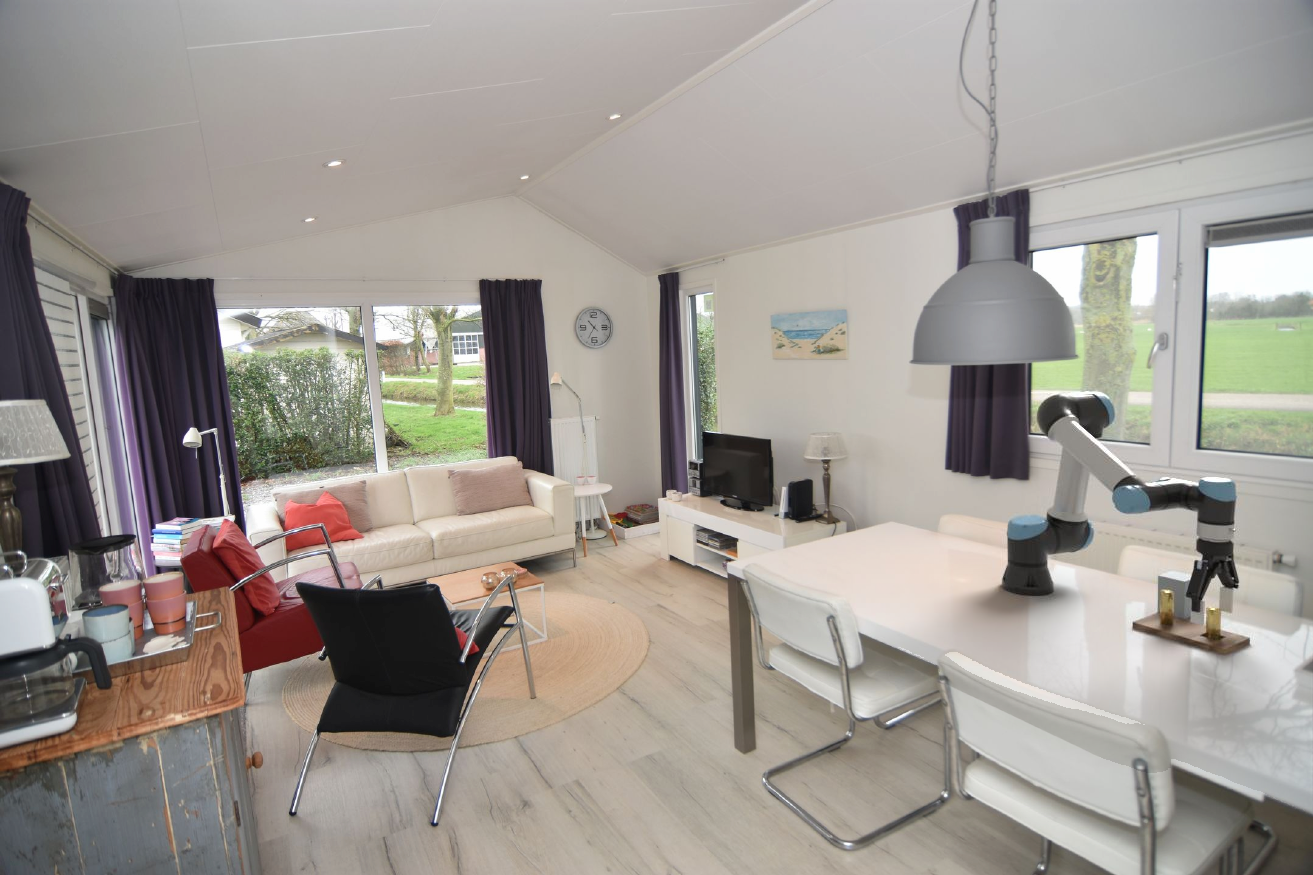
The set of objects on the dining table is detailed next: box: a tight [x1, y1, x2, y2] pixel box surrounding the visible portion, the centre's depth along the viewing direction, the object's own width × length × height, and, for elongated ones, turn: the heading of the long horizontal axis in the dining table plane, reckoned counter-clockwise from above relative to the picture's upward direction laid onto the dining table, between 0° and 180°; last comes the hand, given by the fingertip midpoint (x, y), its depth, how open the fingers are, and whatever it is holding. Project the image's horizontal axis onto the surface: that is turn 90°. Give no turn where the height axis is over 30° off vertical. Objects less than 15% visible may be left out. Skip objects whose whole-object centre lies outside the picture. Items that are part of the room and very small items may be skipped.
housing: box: [1157, 570, 1192, 620], centre depth 203 cm, size 7×7×11 cm
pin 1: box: [1159, 590, 1174, 625], centre depth 193 cm, size 3×3×9 cm
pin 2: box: [1205, 606, 1222, 641], centre depth 183 cm, size 3×3×9 cm
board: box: [1132, 612, 1251, 656], centre depth 189 cm, size 22×12×2 cm, turn 26°
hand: (1211, 617), depth 183 cm, fingers open, 13 cm apart
